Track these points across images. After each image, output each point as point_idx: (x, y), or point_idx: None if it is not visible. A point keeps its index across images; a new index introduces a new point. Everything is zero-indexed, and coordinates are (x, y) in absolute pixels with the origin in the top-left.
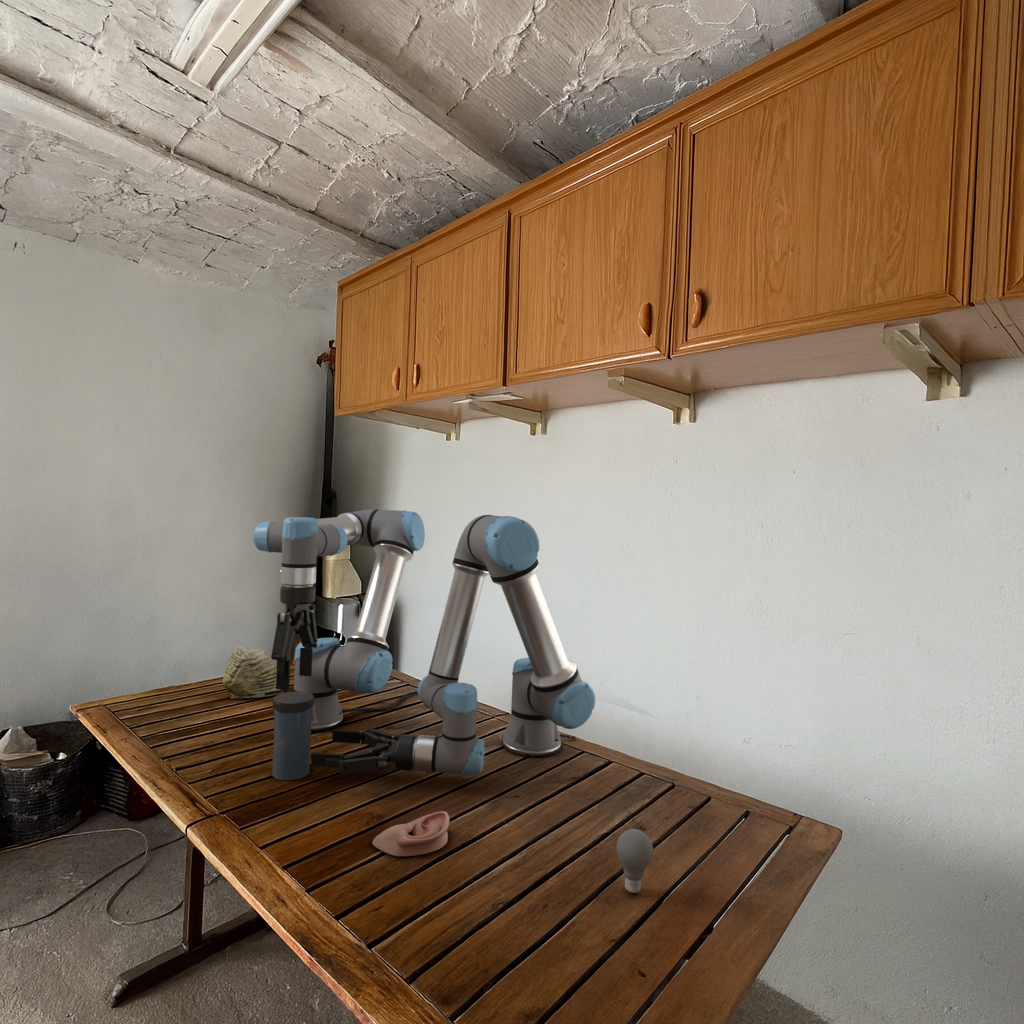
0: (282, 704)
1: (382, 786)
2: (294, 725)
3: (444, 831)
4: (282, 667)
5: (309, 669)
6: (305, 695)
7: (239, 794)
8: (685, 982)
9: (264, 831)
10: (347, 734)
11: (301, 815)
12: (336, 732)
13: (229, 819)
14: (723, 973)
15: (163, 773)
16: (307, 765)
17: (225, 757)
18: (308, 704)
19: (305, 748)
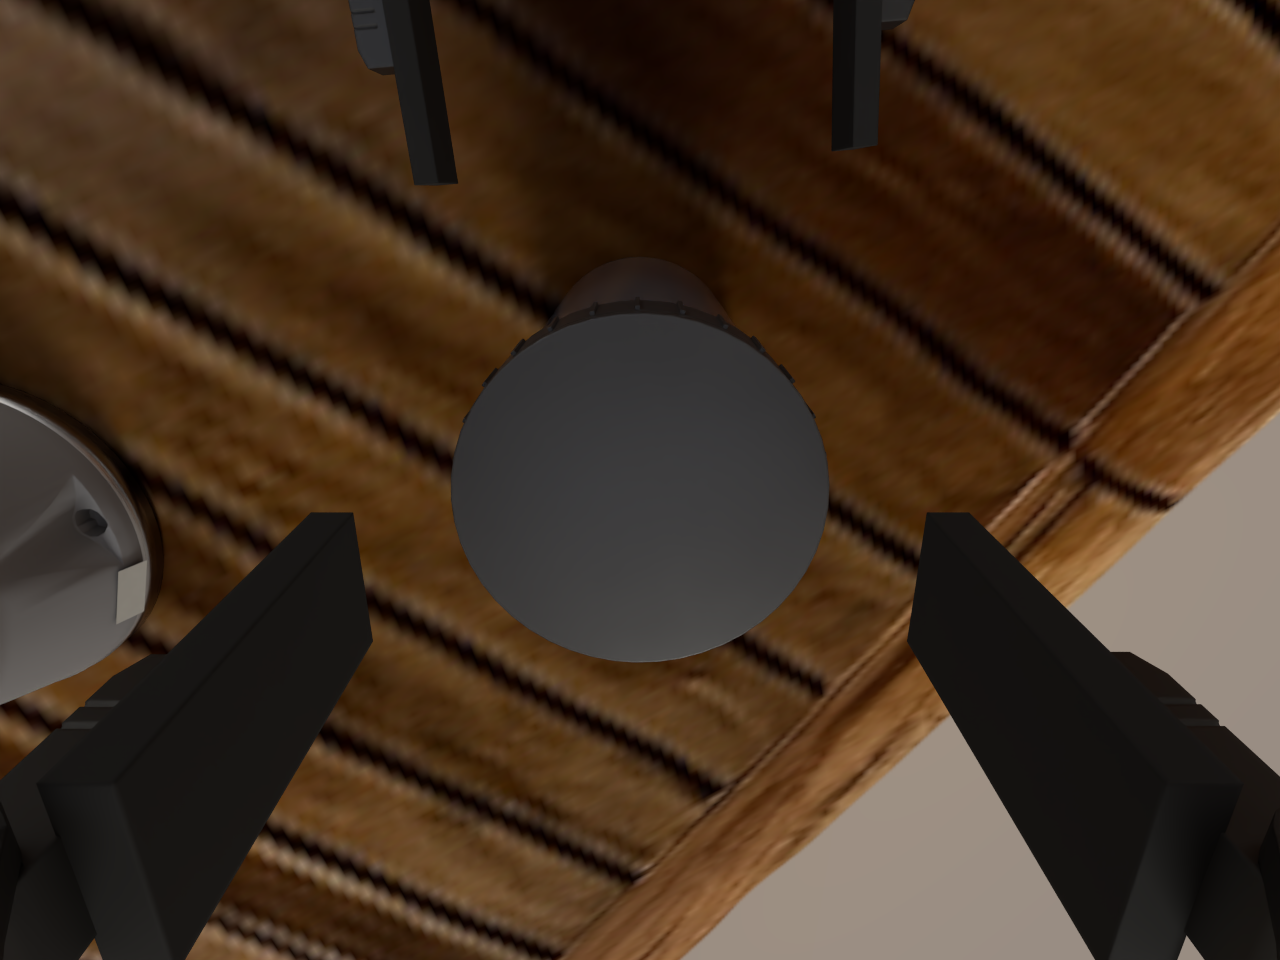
0: (824, 517)
1: None
2: None
3: None
4: (1241, 752)
5: (316, 567)
6: (552, 426)
7: (896, 463)
8: None
9: (1237, 178)
10: (423, 53)
11: (1086, 70)
12: (435, 150)
13: (1122, 385)
14: None
15: (756, 811)
16: (647, 261)
17: (561, 696)
18: (695, 315)
19: (675, 278)
